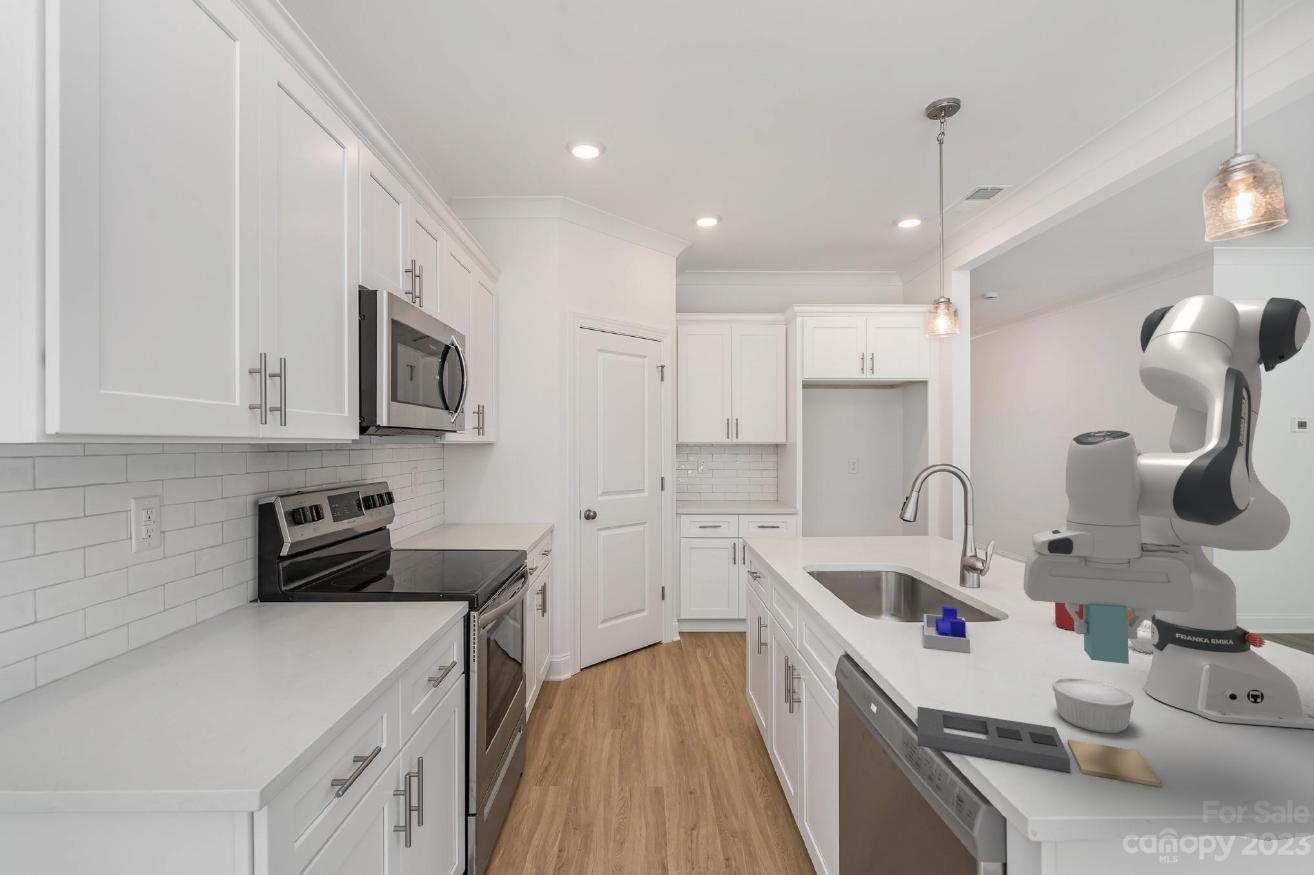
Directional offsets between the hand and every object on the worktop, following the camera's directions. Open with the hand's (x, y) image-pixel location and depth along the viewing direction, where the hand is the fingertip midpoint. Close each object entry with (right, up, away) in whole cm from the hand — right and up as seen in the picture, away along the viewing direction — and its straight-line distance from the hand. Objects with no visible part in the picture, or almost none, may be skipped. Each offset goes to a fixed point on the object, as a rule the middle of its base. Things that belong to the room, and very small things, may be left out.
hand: (1105, 635), depth 89 cm
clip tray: (+3, -19, +54) cm, 57 cm away
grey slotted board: (-14, -19, +6) cm, 24 cm away
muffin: (+42, -18, +45) cm, 64 cm away
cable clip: (+4, -19, +54) cm, 58 cm away
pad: (+1, -19, 0) cm, 19 cm away
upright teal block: (0, -3, 0) cm, 3 cm away
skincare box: (+55, -18, +61) cm, 84 cm away
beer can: (+37, -18, +61) cm, 74 cm away
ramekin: (+7, -19, +13) cm, 24 cm away
